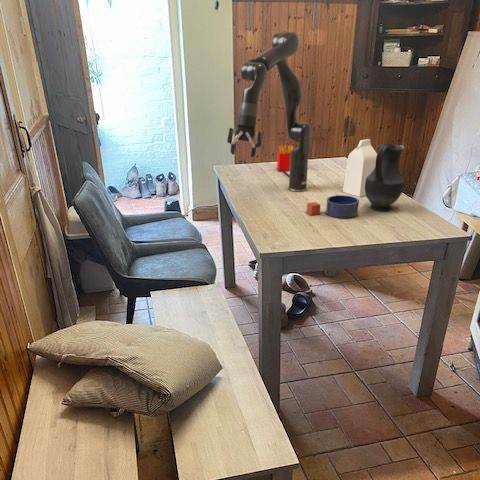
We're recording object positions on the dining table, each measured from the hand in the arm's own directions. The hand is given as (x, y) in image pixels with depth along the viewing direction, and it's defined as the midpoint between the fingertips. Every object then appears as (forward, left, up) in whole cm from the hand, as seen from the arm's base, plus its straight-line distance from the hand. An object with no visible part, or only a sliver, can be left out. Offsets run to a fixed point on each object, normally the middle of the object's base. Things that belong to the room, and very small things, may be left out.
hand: (242, 155), depth 212 cm
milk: (-46, +56, -27) cm, 77 cm away
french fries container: (-89, +16, -28) cm, 94 cm away
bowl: (-10, +45, -27) cm, 53 cm away
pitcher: (-18, +63, -28) cm, 71 cm away
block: (-9, +32, -27) cm, 43 cm away
